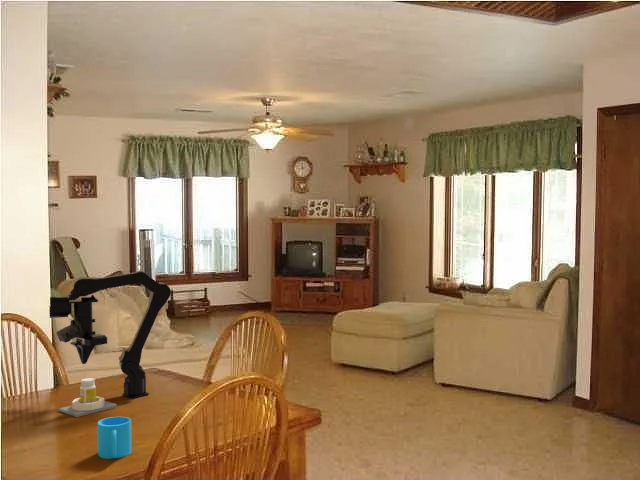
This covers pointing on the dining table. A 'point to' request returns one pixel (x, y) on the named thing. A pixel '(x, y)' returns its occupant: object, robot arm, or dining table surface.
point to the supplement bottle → (87, 391)
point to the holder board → (80, 413)
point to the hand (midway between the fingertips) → (84, 363)
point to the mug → (114, 437)
